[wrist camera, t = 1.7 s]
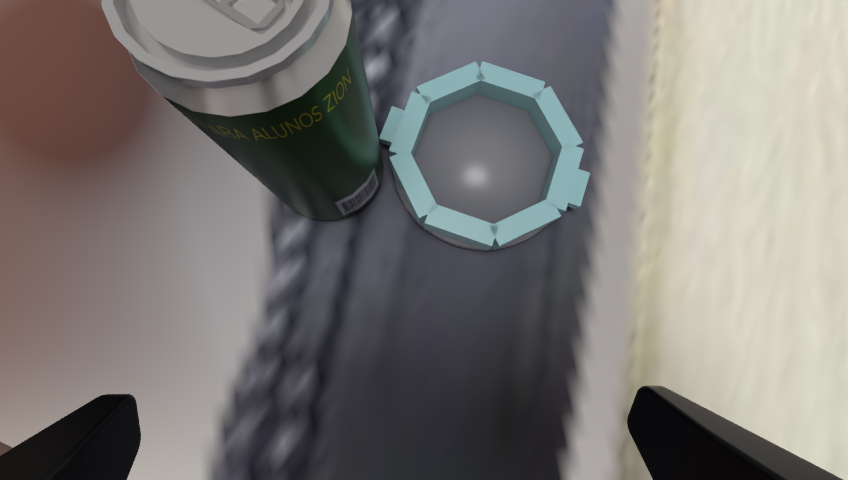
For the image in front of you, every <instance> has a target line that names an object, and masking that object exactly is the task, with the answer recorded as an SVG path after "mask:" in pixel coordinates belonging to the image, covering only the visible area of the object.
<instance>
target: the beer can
mask: <svg viewBox="0 0 848 480" xmlns="http://www.w3.org/2000/svg"><path fill="white" fill-rule="evenodd" d="M102 8H103V11H104V13H105V15H106V17H107V19H108V22H109V24H110V27H111V29H112V31H113V33H114V36H115V37H116V38H117V39H118V40H119V41H120V42H121V43H122V44H123V45H124V46H125V47H126V48H127V49H128V51H129V53H130V55H131V57H132V60H133V62H134V64H135V67H136V69H137V71H138V72H139V73H140V74H141V75H142V76H143V77H144V78H145V79H146V80H147V81H148V83H149V84H150V85H151V86H152V87H153V88H154V89H155V90H156V91H157V92H158V93H159V94H160V95H161V96H163V97H164V98H165V99H166V100H167V101H168V102H169V103H171V104H172V105H173V106H174V107H175V108H176V109H177V110H179V111H180V112H181V113H182V114H183V115H184V116H186V117H187V118H188V119H189V120H190V121H191V122H192V123H193V124H195V125H196V126H197V127H198V128H199V129H200V130H201V131H203V132H204V133H205V134H206V135H207V136H208V137H210V138H211V139H212V140H213V141H214V142H215V143H217V144H218V145H219V146H220V147H221V148H222V149H223V150H225V151H226V152H227V153H228V154H229V155H230V156H231V157H233V158H234V159H235V160H236V161H237V162H238V163H239V164H241V165H242V166H243V167H244V168H245V169H246V170H247V171H249V172H250V173H251V174H252V175H253V176H254V177H255V178H257V179H258V180H259V181H260V182H261V183H262V184H263V185H265V186H266V187H267V188H268V189H269V190H270V191H271V192H273V193H274V194H275V195H276V196H277V197H278V198H280V199H281V200H282V201H283V202H284V203H285V204H286V205H288V206H289V207H290V208H291V209H292V210H293V211H295V212H297V213H299V214H301V215H303V216H305V217H307V218H311V219H317V220H324V221H328V220H335V219H341V218H345V217H347V216H349V215H351V214H353V213H355V212H357V211H359V210H361V209H362V208H363V207H364V206H365V205H366V204H367V203H368V202H369V201H370V200H371V199H372V198H373V196H374V195H375V193H376V191H377V189H378V187H379V185H380V184H381V178H382V173H383V161H382V154H381V149H380V144H379V139H378V133H377V128H376V123H375V118H374V113H373V108H372V103H371V98H370V93H369V88H368V83H367V78H366V73H365V68H364V63H363V58H362V53H361V48H360V43H359V38H358V33H357V27H356V22H355V17H354V12H353V7H352V2H351V0H102Z"/></svg>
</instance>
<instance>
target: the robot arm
mask: <svg viewBox="0 0 848 480" xmlns="http://www.w3.org/2000/svg"><path fill="white" fill-rule="evenodd" d="M627 424H628V429H629V432H630V434H631V436H632V438H633V440H634V442H635V444H636V446H637V448H638V450H639V452H640V454H641V456H642V458H643V460H644V462H645V464H646V466H647V468H648V470H649V472H650V474H651V476H652V478H653V480H843V479H841V478H839V477H837V476H835V475H833V474H831V473H829V472H827V471H825V470H823V469H822V468H820V467H818V466H816V465H814V464H812V463H810V462H808V461H806V460H804V459H802V458H800V457H798V456H796V455H795V454H793V453H791V452H789V451H787V450H785V449H783V448H781V447H779V446H777V445H775V444H773V443H771V442H769V441H767V440H766V439H764V438H762V437H760V436H758V435H756V434H754V433H752V432H750V431H748V430H746V429H744V428H742V427H740V426H738V425H737V424H735V423H733V422H731V421H729V420H727V419H725V418H723V417H721V416H719V415H717V414H715V413H713V412H711V411H710V410H708V409H706V408H704V407H702V406H700V405H698V404H696V403H694V402H692V401H690V400H688V399H686V398H684V397H682V396H681V395H679V394H677V393H675V392H673V391H671V390H669V389H667V388H665V387H662V386H643V387H641V388H640V389H639V390H638V391H637V394H636V396H635V399H634V402H633V404H632V407H631V410H630V412H629V415H628V419H627ZM140 440H141V432H140V426H139V418H138V412H137V404H136V400H135V398H134V397H133V396H132V395H130V394H107V395H101V396H99V397H97V398H95V399H94V400H92V401H90V402H89V403H87V404H85V405H84V406H82V407H80V408H79V409H77V410H75V411H74V412H72V413H70V414H69V415H67V416H65V417H64V418H62V419H60V420H59V421H57V422H55V423H54V424H52V425H50V426H49V427H47V428H45V429H44V430H42V431H40V432H39V433H37V434H35V435H34V436H32V437H31V438H29V439H27V440H26V441H24V442H22V443H21V444H19V445H17V446H16V447H14V448H12V449H11V450H9V451H7V452H6V453H4V454H2V455H1V456H0V480H127V477H128V475H129V472H130V470H131V467H132V465H133V462H134V460H135V457H136V455H137V452H138V449H139V446H140Z"/></svg>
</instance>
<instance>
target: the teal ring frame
mask: <svg viewBox="0 0 848 480" xmlns="http://www.w3.org/2000/svg"><path fill="white" fill-rule="evenodd" d="M544 84H545V82H544V81H541V80H538V79H535V78H532V77H529V76H526V75H523V74H520V73H517V72H514V71H510V70H507V69H504V68H501V67H498V66H495V65H492V64H489V63H486V62H483V61H482V64H481V67H480V68H479V66H478V65H477V63H476V62H473V63H471V64H469V65H466V66H464V67H462V68H459V69H457V70H455V71H452V72H450V73H448V74H445V75H443V76H441V77H438V78H436V79H433V80H431V81H429V82H426V83H424V84H422V85H419V86H417V93H415V92H412V93H411V95H410V98H409V100H408V103H407V105H406V108H405V110H402V109H399V108H396V107H393V106H392V107H391V110H390V112H389V115H388V117H387V120H386V123H385V125H384V128H383V130H382V133H381V135H380V138H379V140H380V143H383V144H386V145H389V146H390V149H389V155H390V157H389V159H390V166H391V168H392V171H393V175H394V180H395V184H396V188H397V191H398V194H399V196H400V199H401V201H402V203H403V204H404V206H405V208H406V210H407V211H408V212H409V214H410V215H411V216H412V217H413V219H414V220H415V221H416V222H417V223H418V224H419V225H420V226H421V227H422V228H423V229H425V230H426V231H427V232H429V233H430V234H431V235H433V236H434V237H436V238H438V239H440V240H441V241H443V242H446V243H448V244H450V245H453V246H456V247H460V248H464V249H470V250H482V251H489V250H497V249H503V248H507V247H511V246H513V245H516V244H518V243H521V242H523V241H525V240H527V239H528V238H530V237H532V236H533V235H535V234H536V233H538V232H539V231H540V230H541V229H543V228H544V227H545V226H546V225H548V224H550V223H552V222H553V221H555V220H556V219H558V218H559V217H561V214H562V213H563V212H565V211H566V209H567V206H568V207H571V208H574V209H578V208H579V207H580V206H581V203H582V199H583V196H584V192H585V189H586V185H587V182H588V178H589V175H590V173H589V172H586V171H583V170H580V169H578V167H579V164H580V161H581V157H582V154H583V150H584V149H583V148H580V147H579V146H580V145H581V144H582V143H583V141H582V140H581V138H580V136H579V135H578V133H577V131H576V129H575V128H574V126H573V124H572V122H571V121H570V119H569V117H568V116H567V114H566V112H565V110H564V109H563V107H562V105H561V104H560V102H559V100H558V98H557V97H556V95H555V93H554V91H553V90H552V88H551V86H550V87H547V88H545V89H543V87H544Z"/></svg>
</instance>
